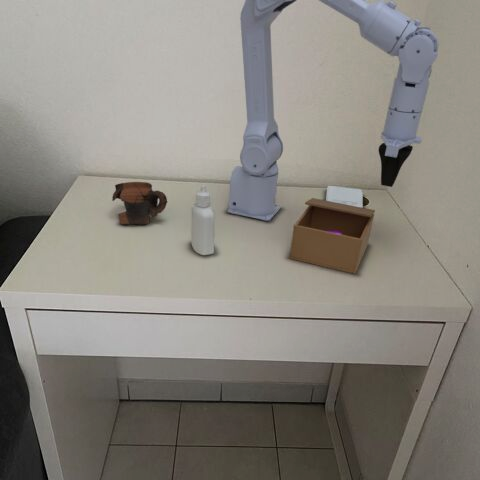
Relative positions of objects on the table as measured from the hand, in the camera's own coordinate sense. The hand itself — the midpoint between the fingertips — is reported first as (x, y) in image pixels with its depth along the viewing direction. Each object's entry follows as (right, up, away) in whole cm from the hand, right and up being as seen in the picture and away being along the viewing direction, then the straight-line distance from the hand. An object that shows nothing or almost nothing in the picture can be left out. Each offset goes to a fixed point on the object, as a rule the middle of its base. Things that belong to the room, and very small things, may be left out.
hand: (387, 185), depth 93 cm
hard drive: (-4, +1, +19) cm, 19 cm away
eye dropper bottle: (-35, -13, -3) cm, 37 cm away
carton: (-11, -13, -1) cm, 17 cm away
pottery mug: (-48, -5, +7) cm, 49 cm away
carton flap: (-10, -5, -3) cm, 11 cm away
